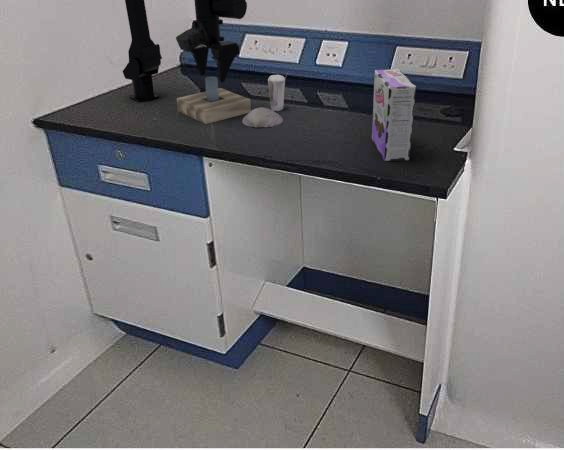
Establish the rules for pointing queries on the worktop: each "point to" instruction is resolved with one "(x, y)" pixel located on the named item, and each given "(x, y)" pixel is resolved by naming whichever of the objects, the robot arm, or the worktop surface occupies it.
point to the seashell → (262, 118)
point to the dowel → (212, 89)
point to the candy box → (392, 114)
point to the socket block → (213, 106)
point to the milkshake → (276, 91)
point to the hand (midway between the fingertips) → (212, 78)
